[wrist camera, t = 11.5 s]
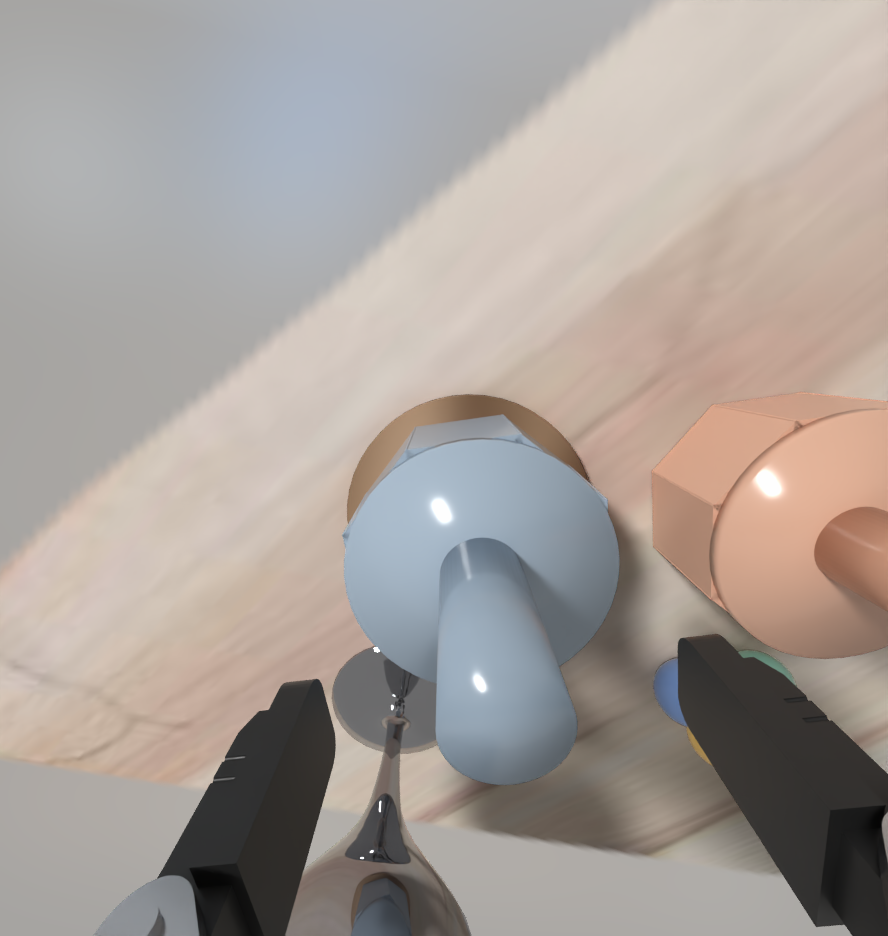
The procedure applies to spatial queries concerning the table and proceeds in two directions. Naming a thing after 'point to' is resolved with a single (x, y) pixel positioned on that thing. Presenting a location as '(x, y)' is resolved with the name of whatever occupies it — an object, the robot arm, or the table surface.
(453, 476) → the slate cloche
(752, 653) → the marble seagreen
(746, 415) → the terracotta cloche
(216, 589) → the table surface
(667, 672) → the marble inkblue
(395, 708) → the wine glass
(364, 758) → the table surface
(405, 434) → the disc
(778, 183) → the table surface
